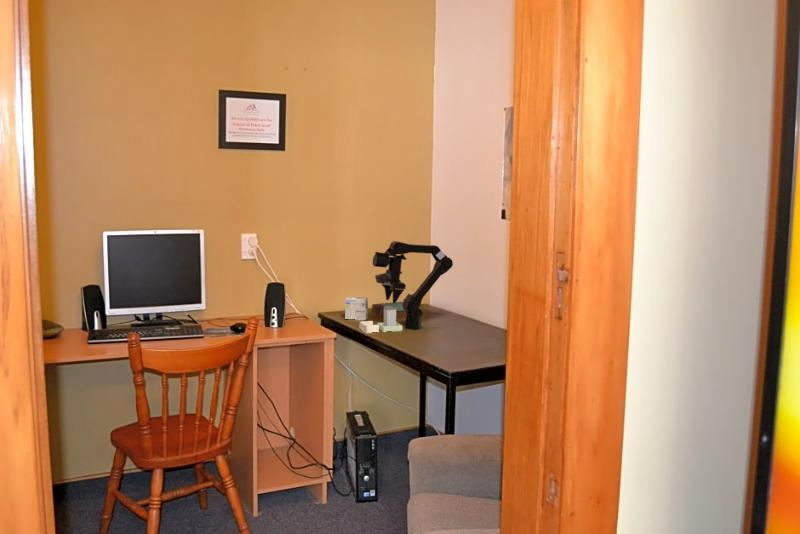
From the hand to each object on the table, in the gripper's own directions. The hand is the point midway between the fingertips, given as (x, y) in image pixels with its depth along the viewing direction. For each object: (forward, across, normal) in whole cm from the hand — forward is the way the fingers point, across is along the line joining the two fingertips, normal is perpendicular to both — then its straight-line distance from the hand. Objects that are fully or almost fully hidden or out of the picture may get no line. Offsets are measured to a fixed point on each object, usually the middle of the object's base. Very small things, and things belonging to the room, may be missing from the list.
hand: (390, 301), depth 330 cm
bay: (+14, 0, -8) cm, 16 cm away
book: (+12, -34, +17) cm, 40 cm away
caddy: (+12, 0, +1) cm, 13 cm away
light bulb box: (+14, -28, -6) cm, 32 cm away
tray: (+13, 0, +1) cm, 13 cm away
